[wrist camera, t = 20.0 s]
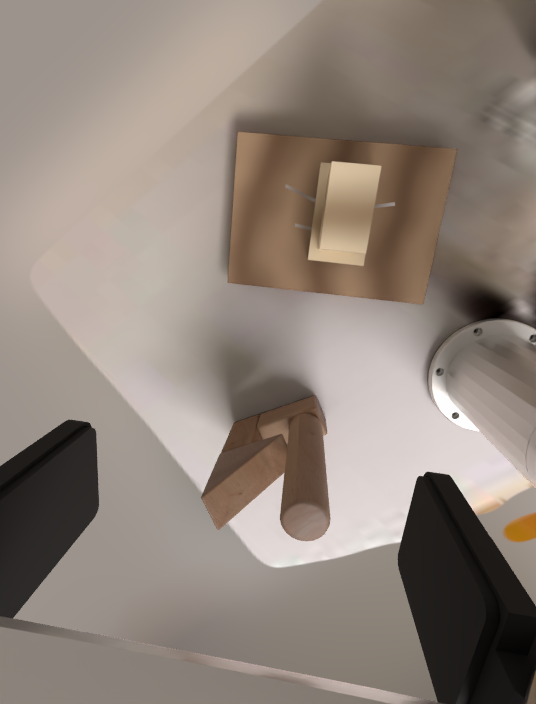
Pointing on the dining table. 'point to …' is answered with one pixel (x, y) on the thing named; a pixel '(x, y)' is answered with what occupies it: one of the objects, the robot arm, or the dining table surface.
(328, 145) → the walnut board
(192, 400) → the dining table surface
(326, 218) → the block
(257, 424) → the wooden block
